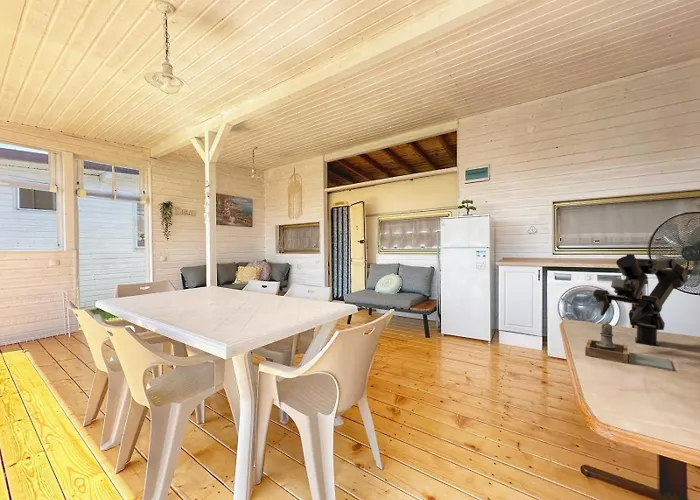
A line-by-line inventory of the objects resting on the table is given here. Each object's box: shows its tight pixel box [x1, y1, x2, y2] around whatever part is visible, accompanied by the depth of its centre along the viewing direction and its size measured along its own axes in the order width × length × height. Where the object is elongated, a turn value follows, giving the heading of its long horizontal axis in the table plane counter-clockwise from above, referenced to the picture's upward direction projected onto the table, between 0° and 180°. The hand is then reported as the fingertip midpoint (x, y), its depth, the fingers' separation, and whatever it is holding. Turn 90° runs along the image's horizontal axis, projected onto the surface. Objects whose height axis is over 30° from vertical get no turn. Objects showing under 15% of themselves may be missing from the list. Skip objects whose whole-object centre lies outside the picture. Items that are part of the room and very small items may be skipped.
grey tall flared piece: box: [596, 321, 617, 351], centre depth 109 cm, size 6×6×12 cm
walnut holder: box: [584, 339, 629, 364], centre depth 109 cm, size 11×11×3 cm
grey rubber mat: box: [628, 352, 674, 372], centre depth 102 cm, size 10×10×1 cm
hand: (616, 317), depth 111 cm, fingers open, 9 cm apart
